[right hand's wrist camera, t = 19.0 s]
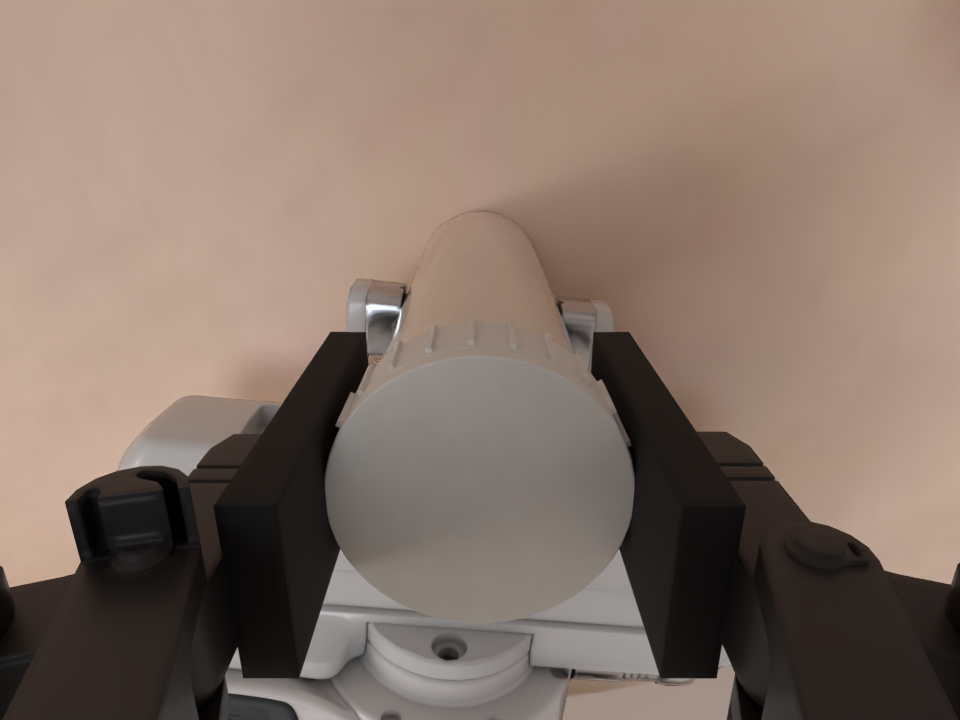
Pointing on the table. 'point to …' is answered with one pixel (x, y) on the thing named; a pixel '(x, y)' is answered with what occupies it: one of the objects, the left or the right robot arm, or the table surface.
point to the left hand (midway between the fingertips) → (481, 293)
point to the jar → (479, 281)
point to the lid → (479, 474)
